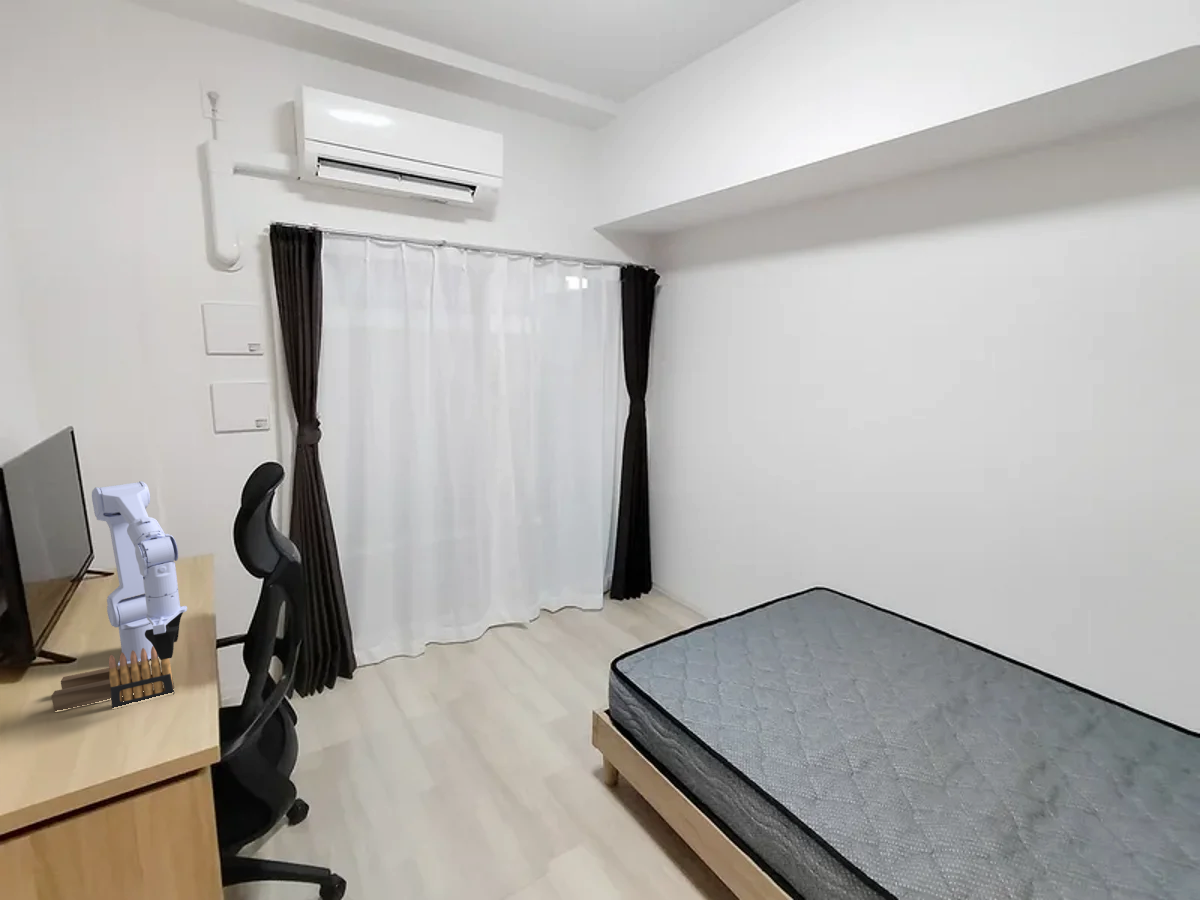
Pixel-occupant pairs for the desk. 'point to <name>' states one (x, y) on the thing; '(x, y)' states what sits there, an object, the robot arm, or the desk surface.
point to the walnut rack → (84, 688)
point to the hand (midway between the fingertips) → (169, 650)
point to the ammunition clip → (139, 678)
